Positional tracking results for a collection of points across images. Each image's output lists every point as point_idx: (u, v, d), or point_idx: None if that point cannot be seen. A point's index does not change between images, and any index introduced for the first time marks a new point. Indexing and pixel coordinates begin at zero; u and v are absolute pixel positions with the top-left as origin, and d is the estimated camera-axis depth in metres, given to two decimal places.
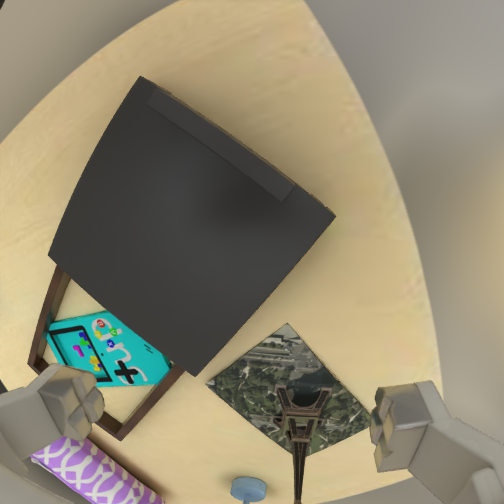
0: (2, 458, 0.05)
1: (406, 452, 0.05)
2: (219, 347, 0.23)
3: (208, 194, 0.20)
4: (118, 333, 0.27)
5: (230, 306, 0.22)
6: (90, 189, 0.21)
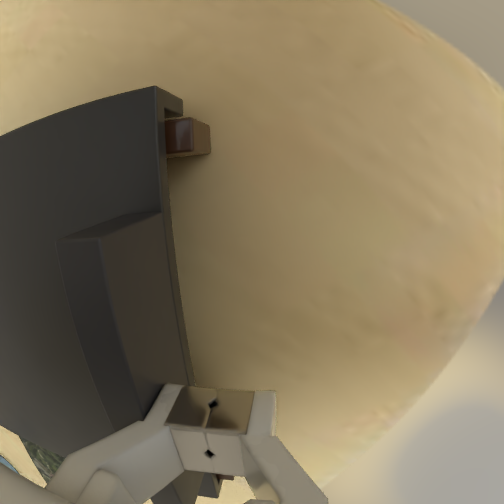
0: None
1: (232, 459, 0.06)
2: (25, 437, 0.13)
3: None
4: None
5: (52, 440, 0.12)
6: None
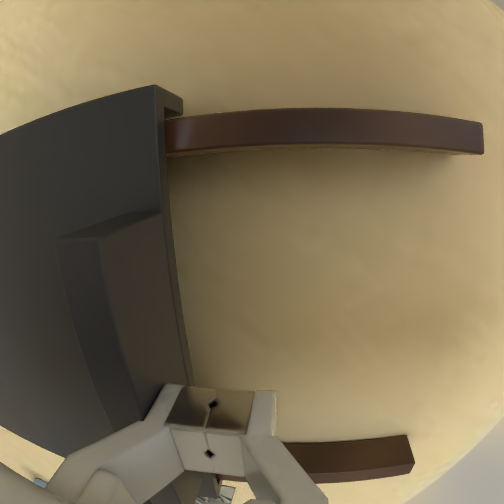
0: None
1: (232, 459, 0.06)
2: (24, 437, 0.13)
3: None
4: None
5: (51, 440, 0.12)
6: None
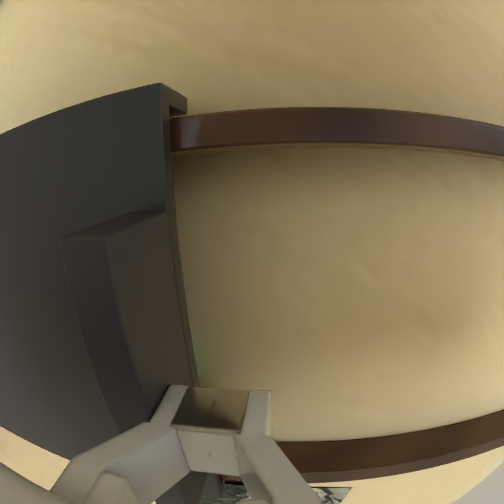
0: None
1: (226, 458, 0.06)
2: (25, 438, 0.13)
3: (95, 379, 0.10)
4: None
5: (53, 441, 0.12)
6: None
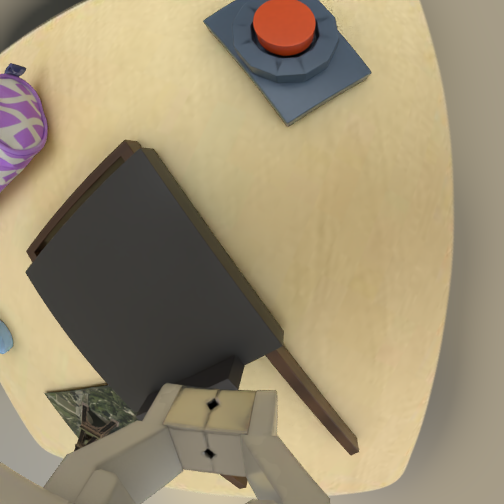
0: None
1: (232, 458, 0.06)
2: (48, 306, 0.24)
3: (156, 356, 0.24)
4: None
5: (77, 331, 0.24)
6: (189, 253, 0.21)
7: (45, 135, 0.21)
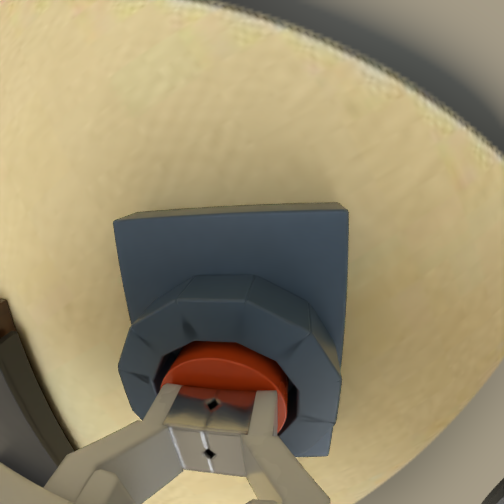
0: None
1: (233, 459, 0.06)
2: None
3: (3, 457, 0.15)
4: None
5: None
6: (34, 449, 0.13)
7: None
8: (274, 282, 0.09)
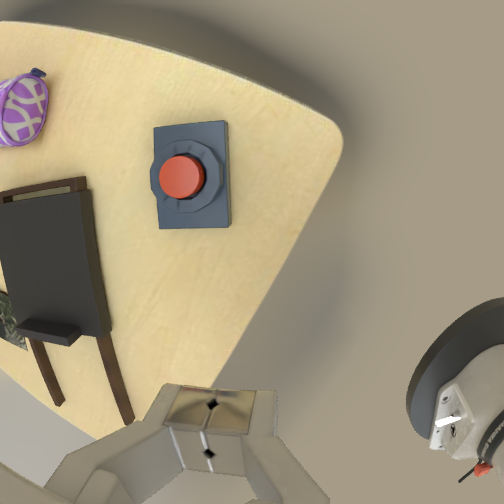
0: None
1: (233, 459, 0.06)
2: None
3: (41, 301, 0.33)
4: None
5: (6, 259, 0.32)
6: (78, 264, 0.31)
7: (39, 130, 0.29)
8: (202, 143, 0.27)
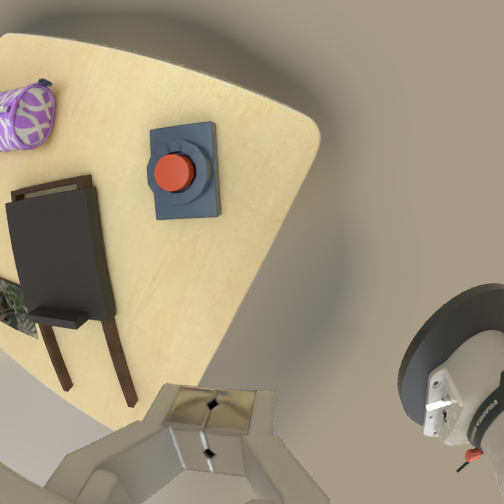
0: None
1: (232, 459, 0.06)
2: (9, 230, 0.36)
3: (51, 289, 0.37)
4: None
5: (18, 252, 0.36)
6: (85, 253, 0.35)
7: (47, 134, 0.33)
8: (192, 142, 0.31)
